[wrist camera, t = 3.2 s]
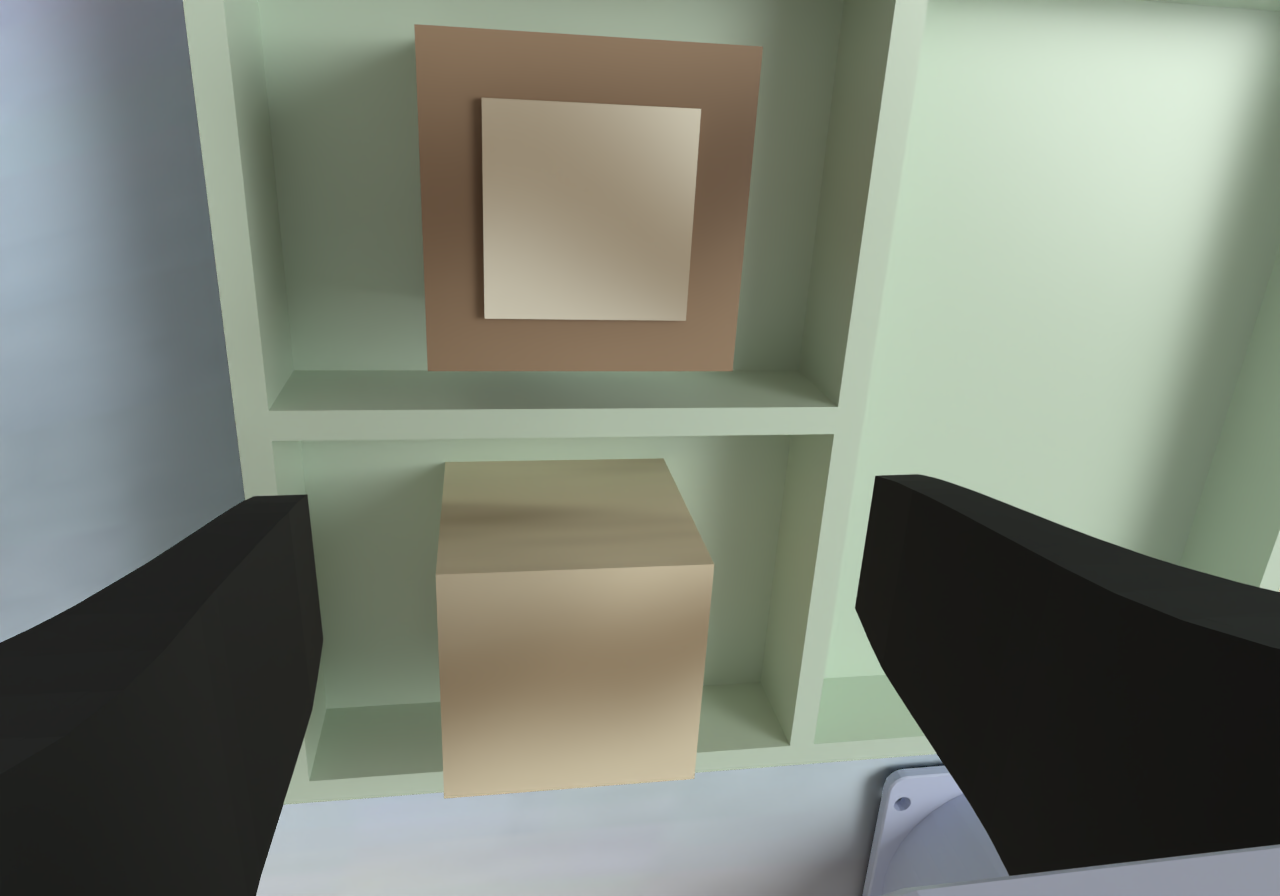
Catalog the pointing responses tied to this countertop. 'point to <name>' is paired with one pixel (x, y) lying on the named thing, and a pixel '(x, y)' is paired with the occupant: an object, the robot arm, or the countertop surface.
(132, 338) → the countertop surface
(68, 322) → the countertop surface
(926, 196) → the organiser
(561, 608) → the plain cube
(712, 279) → the brown cube
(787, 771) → the countertop surface
